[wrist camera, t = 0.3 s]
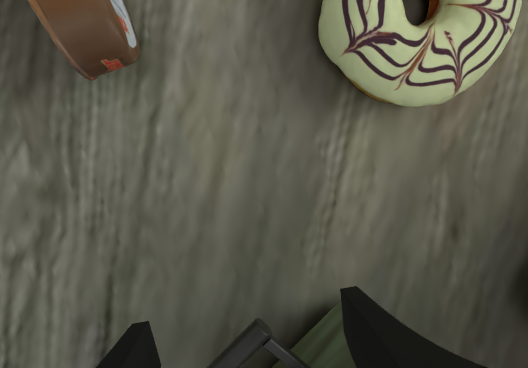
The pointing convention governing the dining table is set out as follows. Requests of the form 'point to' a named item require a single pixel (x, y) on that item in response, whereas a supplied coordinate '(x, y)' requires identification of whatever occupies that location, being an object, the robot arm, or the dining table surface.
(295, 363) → the drawer
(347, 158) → the dining table surface
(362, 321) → the robot arm
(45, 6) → the tin
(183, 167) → the dining table surface
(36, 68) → the dining table surface
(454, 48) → the decorated donut
